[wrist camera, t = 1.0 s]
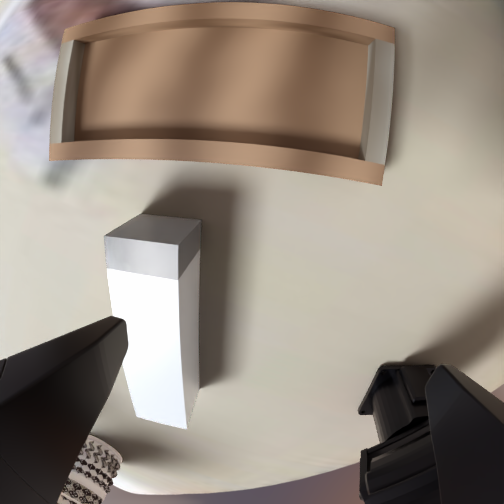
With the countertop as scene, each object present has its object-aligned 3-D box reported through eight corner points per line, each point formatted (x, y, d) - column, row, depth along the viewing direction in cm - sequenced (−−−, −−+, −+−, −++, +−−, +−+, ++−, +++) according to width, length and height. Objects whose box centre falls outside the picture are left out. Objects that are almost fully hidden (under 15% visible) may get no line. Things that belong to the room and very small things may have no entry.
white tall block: (199, 388, 25) (187, 429, 21) (154, 379, 25) (136, 416, 21) (201, 219, 19) (178, 245, 15) (140, 213, 20) (103, 235, 15)
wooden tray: (381, 39, 14) (394, 27, 12) (368, 180, 17) (381, 186, 15) (83, 36, 15) (64, 28, 12) (70, 157, 18) (49, 161, 16)
